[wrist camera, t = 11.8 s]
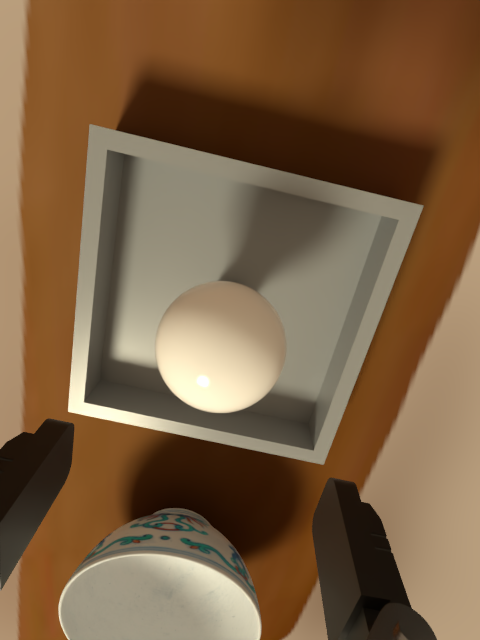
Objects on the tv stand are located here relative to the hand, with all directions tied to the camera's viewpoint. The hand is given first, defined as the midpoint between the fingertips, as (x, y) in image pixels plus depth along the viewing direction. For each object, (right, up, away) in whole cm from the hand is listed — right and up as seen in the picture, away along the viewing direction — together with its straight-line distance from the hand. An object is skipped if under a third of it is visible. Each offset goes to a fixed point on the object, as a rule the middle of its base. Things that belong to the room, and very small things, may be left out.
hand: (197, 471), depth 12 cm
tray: (+1, +6, +16) cm, 17 cm away
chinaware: (-4, -15, +24) cm, 29 cm away
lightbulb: (+1, +6, +15) cm, 16 cm away
